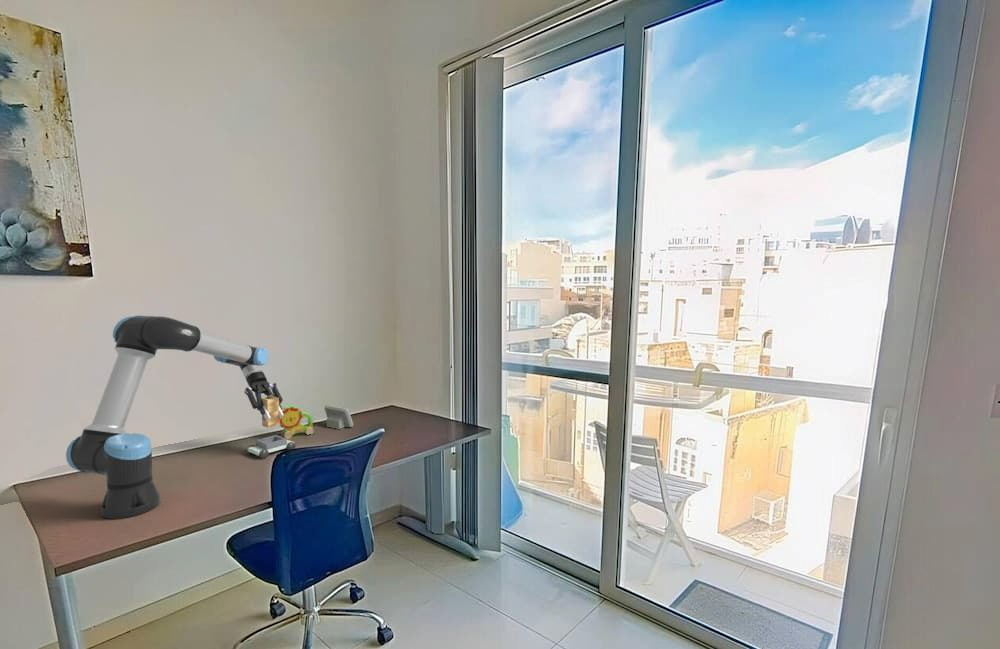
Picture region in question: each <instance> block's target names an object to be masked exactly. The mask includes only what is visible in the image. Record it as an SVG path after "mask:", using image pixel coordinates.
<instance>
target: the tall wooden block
mask: <svg viewBox="0 0 1000 649" xmlns="http://www.w3.org/2000/svg"><path fill="white" fill-rule="evenodd" d="M261 399H262V406H264V405H265V407H266V409H267V411H268V413H269V415H270V417H271V418H270V420H269V421H268V422H267V421H266V419H265V417H264V415H262V414H261V422H262V427H264V428H265V427H266V428H267V429H268V428H273V427H277V426H280V420H279V398H277V397H274V396H273V395H266V397H261Z"/></svg>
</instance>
